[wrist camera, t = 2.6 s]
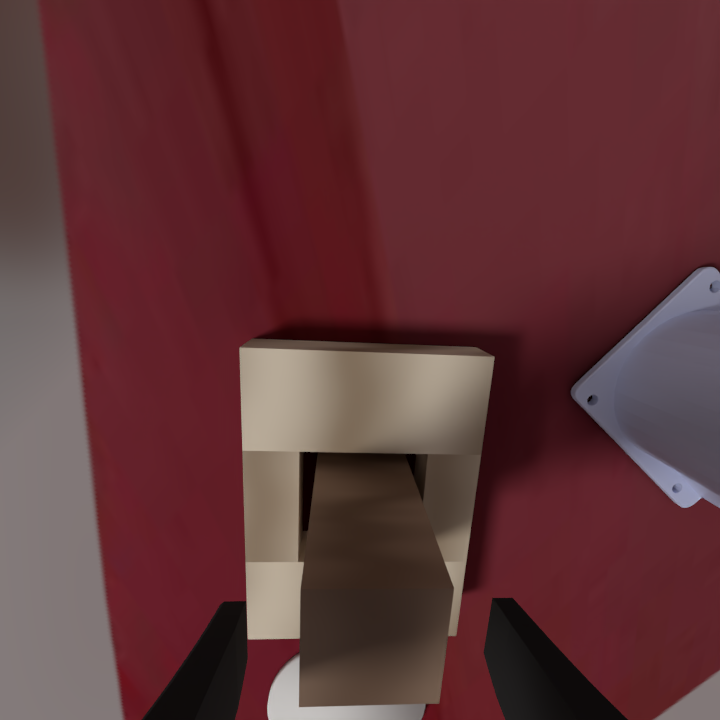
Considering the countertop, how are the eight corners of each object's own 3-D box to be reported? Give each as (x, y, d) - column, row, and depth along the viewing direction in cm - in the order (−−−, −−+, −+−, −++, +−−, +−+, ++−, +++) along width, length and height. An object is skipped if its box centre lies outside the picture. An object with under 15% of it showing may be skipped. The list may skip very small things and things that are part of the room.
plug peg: (402, 446, 17) (454, 588, 9) (396, 518, 18) (438, 703, 10) (318, 444, 17) (300, 589, 9) (317, 518, 18) (298, 707, 10)
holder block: (476, 347, 16) (494, 356, 14) (444, 599, 19) (456, 636, 17) (252, 338, 15) (239, 347, 13) (257, 601, 19) (248, 639, 17)
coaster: (455, 688, 21) (457, 696, 20) (352, 775, 22) (352, 784, 22) (341, 610, 19) (342, 617, 19) (236, 709, 20) (234, 718, 20)
